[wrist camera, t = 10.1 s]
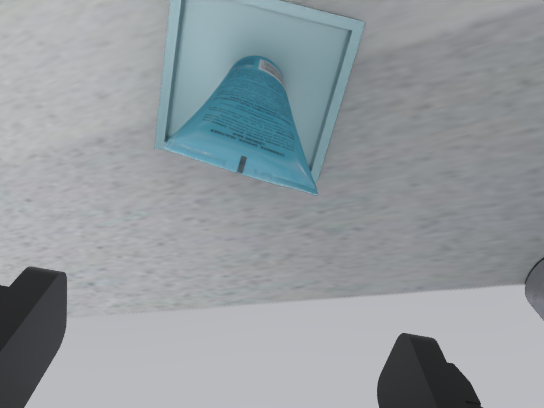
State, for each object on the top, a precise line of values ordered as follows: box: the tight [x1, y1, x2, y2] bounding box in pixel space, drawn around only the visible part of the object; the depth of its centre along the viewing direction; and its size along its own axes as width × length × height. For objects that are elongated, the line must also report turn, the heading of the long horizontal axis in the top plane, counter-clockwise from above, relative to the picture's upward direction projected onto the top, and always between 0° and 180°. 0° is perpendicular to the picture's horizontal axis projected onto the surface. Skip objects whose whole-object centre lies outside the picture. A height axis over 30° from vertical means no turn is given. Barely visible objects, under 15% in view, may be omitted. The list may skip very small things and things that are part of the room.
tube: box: [164, 56, 318, 196], centre depth 28 cm, size 7×5×19 cm, turn 76°
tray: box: [154, 0, 365, 183], centre depth 36 cm, size 15×14×2 cm
